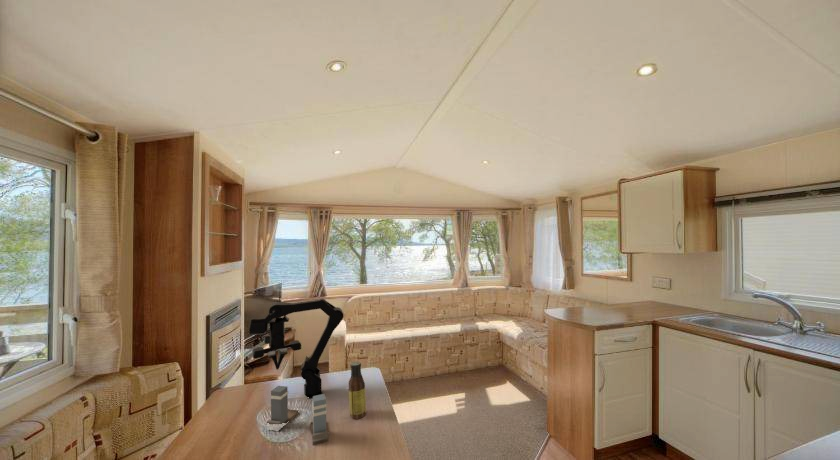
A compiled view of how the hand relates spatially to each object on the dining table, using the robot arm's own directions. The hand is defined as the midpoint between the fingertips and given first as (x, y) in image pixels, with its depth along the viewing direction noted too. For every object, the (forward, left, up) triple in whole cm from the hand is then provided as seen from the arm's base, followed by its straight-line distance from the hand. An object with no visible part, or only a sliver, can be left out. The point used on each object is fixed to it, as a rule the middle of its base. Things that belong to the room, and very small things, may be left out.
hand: (277, 369), depth 131 cm
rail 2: (-9, +33, -13) cm, 37 cm away
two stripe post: (-8, +35, -12) cm, 38 cm away
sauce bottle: (-24, +31, -13) cm, 41 cm away
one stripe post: (+2, +20, -12) cm, 23 cm away
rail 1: (+1, +19, -13) cm, 23 cm away
